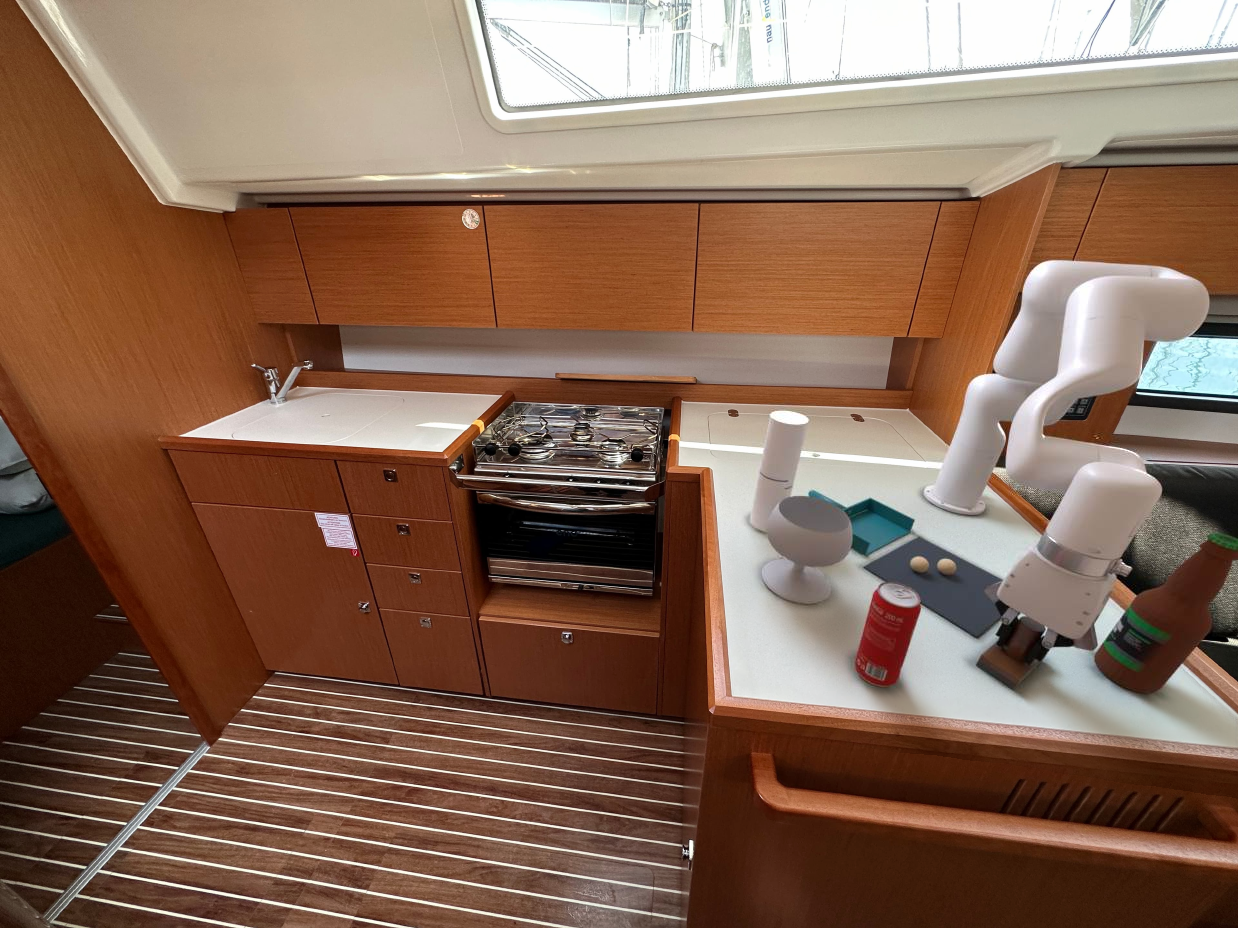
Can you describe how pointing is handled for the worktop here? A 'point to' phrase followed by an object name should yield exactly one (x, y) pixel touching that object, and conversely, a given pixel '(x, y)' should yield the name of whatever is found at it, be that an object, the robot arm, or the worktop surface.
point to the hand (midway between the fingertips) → (1016, 649)
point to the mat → (942, 584)
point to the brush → (1013, 653)
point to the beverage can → (887, 633)
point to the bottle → (1167, 620)
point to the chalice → (805, 547)
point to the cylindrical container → (778, 464)
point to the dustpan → (872, 523)
